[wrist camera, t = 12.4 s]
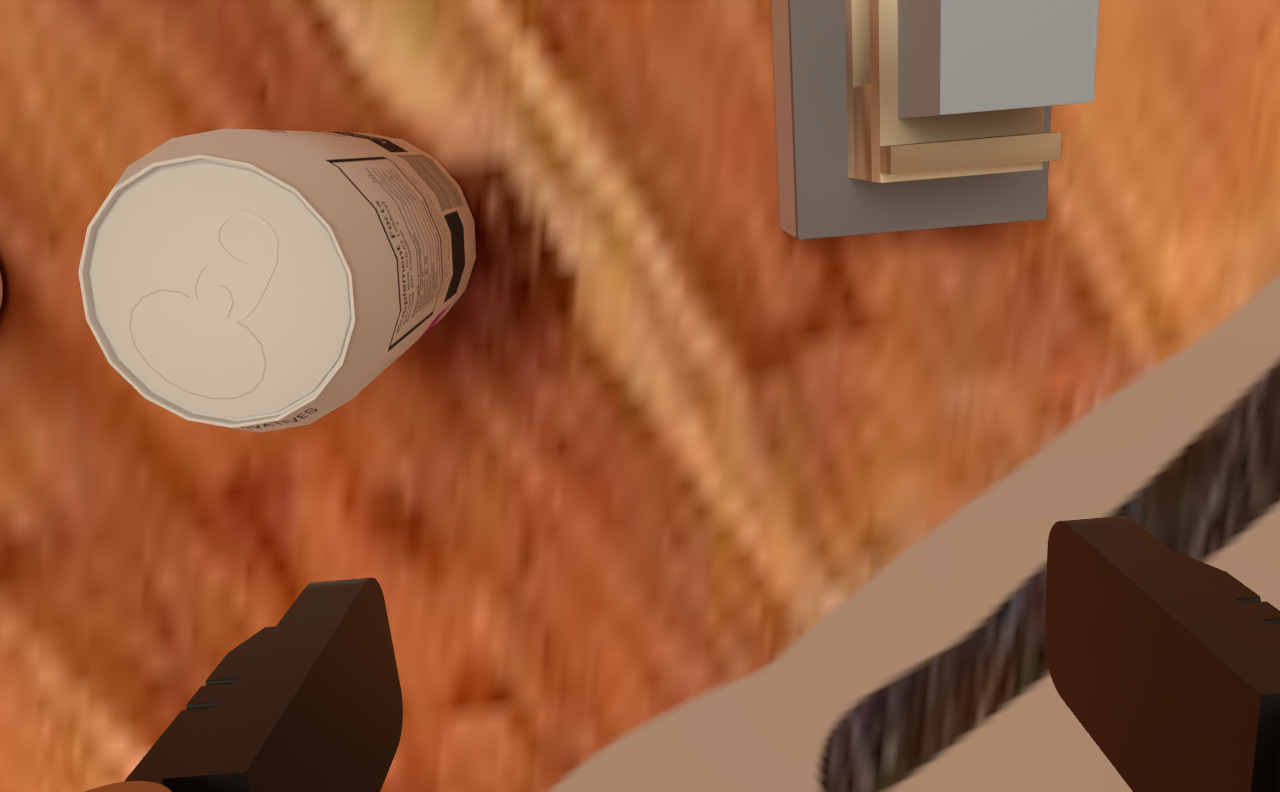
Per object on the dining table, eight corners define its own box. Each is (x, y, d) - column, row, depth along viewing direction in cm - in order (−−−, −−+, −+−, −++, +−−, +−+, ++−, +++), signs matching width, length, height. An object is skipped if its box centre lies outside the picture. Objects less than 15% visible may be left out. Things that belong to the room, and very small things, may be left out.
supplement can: (425, 368, 39) (299, 501, 25) (248, 271, 38) (7, 351, 23) (514, 201, 37) (435, 239, 23) (331, 94, 36) (124, 63, 22)
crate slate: (897, -24, 27) (941, -52, 23) (1034, -36, 26) (1102, -67, 23) (897, 118, 28) (940, 114, 24) (1030, 107, 28) (1093, 101, 24)
